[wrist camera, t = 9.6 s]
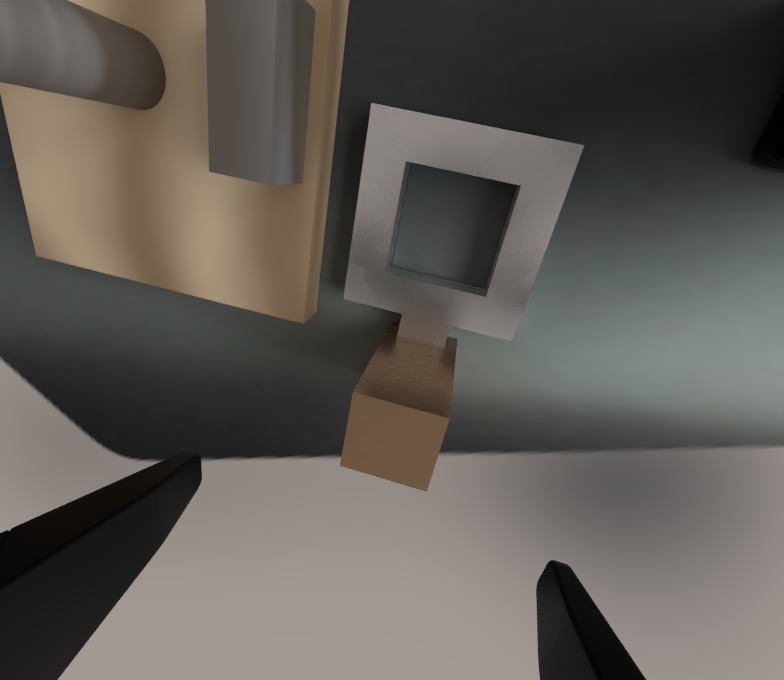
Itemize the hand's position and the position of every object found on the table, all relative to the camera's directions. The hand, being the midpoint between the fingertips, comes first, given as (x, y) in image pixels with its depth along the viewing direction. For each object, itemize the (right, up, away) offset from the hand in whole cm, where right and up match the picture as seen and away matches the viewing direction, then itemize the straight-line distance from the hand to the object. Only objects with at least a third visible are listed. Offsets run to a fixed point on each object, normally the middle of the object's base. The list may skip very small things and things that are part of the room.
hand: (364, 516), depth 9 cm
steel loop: (+3, +7, +6) cm, 10 cm away
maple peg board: (-8, +13, +6) cm, 16 cm away
